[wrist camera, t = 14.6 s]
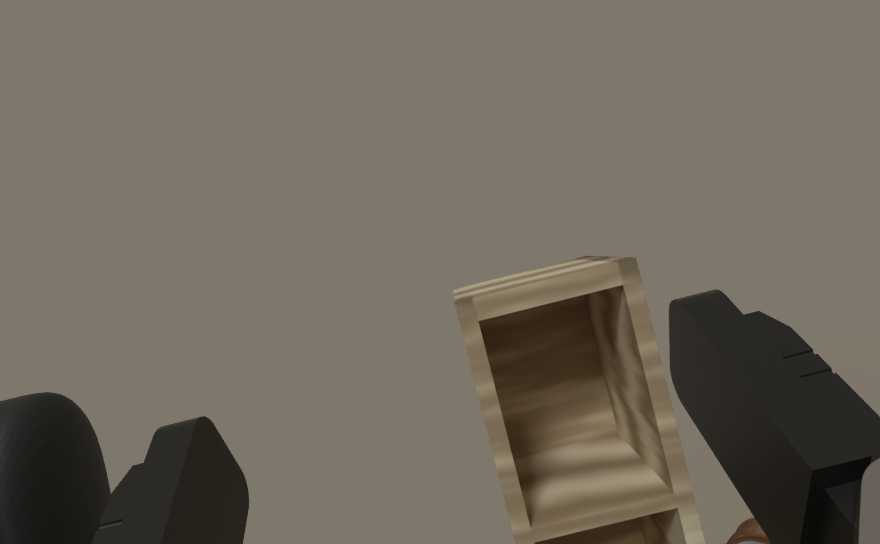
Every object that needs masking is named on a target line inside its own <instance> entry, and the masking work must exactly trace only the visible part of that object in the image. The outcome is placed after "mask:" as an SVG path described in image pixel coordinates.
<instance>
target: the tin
mask: <svg viewBox="0 0 880 544" xmlns="http://www.w3.org/2000/svg"><path fill="white" fill-rule="evenodd" d="M727 544H771V542H770V541H769V539H768V538H767V536H766V535H765V533H764V531H763V530H762V528H761V527H760V525H759V524H758V522H757V520H756V519H755V518H750V519H748V520H746V521H744V522H743V523H742V524H741V525H740V526H739V527H738V529H737V530H736V532H735V533H734V534H733V535H732V536H731V538H730V539H729V540H728V542H727Z"/></svg>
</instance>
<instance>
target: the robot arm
mask: <svg viewBox="0 0 880 544" xmlns="http://www.w3.org/2000/svg"><path fill="white" fill-rule="evenodd" d="M669 335H670V336H669V340H670V371H671V377H672V381H673V384H674V387H675V390H676V392H677V395H678V397H679V399H680V401H681V403H682V404H683V406H684V407H685V409H686V411H687V412H688V414H689V415H690V417H691V419H692V420H693V422H694V423H695V425H696V426H697V428H698V429H699V431H700V432H701V434H702V436H703V437H704V439H705V440H706V442H707V444H708V445H709V447H710V448H711V450H712V451H713V453H714V455H715V456H716V458H717V459H718V461H719V462H720V464H721V466H722V467H723V469H724V470H725V472H726V473H727V475H728V477H729V478H730V480H731V481H732V483H733V484H734V486H735V488H736V489H737V491H738V492H739V494H740V495H741V497H742V498H743V500H744V502H745V503H746V505H747V506H748V508H749V509H750V511H751V513H752V514H753V516H754V517H755V519H756V520H757V522H758V524H759V525H760V527H761V528H762V530H763V531H764V533H765V535H766V536H767V538H768V539H769V541H770V542H771V544H880V417H879V416H878V415H877V414H876V413H875V412H874V411H873V410H872V409H871V408H870V407H869V405H868V404H866V402H864V400H863V399H862V398H861V397H859V396H858V395H857V394H856V392H855V391H854V390H853V389H852V388H851V387H850V386H848V384H847V383H846V382H845V381H844V380H843V379H842V378H841V377H840V376H839V375H838V374H837V373H835V374H833V372H832V370H831V367H830V366H829V365H828V364H827V363H826V362H825V361H824V360H823V359H822V358H821V357H820V356H819V355H818V354H814V353H813V349H812V348H811V347H810V346H809V345H808V344H807V343H806V342H805V341H804V340H803V339H802V338H801V337H800V336H799V335H798V334H797V333H796V332H795V331H794V330H793V329H792V328H791V327H789V326H787V325H785V324H783V323H781V322H780V321H777V320H776V319H774V318H772V317H769V316H768V315H766V314H764V313H762V312H760V311H757V312H753V313H750V314H745V315H743V314H742V313H741V312H740V310H739V309H738V308H737V307H736V306H735V305H734V304H733V303H732V302H731V301H730V300H729V298H728V297H727V296H726V295H725V294H724V293H723V292H721V291H720V290H712V291H707V292H704V293H699V294H695V295H691V296H687V297H684V298H679V299H675V300H673V301H672V302H671V303H670V306H669ZM248 508H249V496H248V488H247V483H246V480H245V477H244V474H243V472H242V470H241V469H240V467H239V465H238V464H237V462H236V461H235V459H234V457H233V455H232V454H231V452H230V450H229V449H228V447H227V445H226V444H225V442H224V440H223V439H222V437H221V436H220V434H219V432H218V431H217V429H216V427H215V426H214V424H213V423H212V421H211V420H210V419H209V418H207V417H205V416H204V417H198V418H195V419H190V420H186V421H182V422H179V423H174V424H170V425H167V426H163V427H160V428H159V429H157V431H156V432H155V434H154V436H153V438H152V441H151V444H150V447H149V450H148V452H147V455H146V458H145V461H144V463H142V464H138V465H134V466H132V468H131V469H130V470H129V472H128V473H127V474H126V475H125V477H124V478H123V479H122V481H121V482H120V483H119V485H118V486H117V487H116V489H115V490H114V491H113V492H112V494H111V493H110V487H109V483H108V477H107V472H106V468H105V464H104V460H103V455H102V451H101V448H100V445H99V442H98V439H97V436H96V434H95V431H94V430H93V427H92V425H91V423H90V421H89V420H88V418H87V417H86V415H85V414H84V412H83V411H82V410H81V408H79V407H78V405H76V404H75V403H74V402H73V401H72V400H70V399H69V398H67V397H65V396H63V395H61V394H56V393H48V392H45V393H36V394H30V395H25V396H21V397H17V398H13V399H8V400H4V401H0V544H243V539H244V533H245V527H246V521H247V515H248Z"/></svg>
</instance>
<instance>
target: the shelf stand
mask: <svg viewBox="0 0 880 544" xmlns="http://www.w3.org/2000/svg"><path fill="white" fill-rule="evenodd" d="M453 293H454V301H455V306H456V310H457V314H458V318H459V322H460V326H461V330H462V334H463V338H464V341H465V346H466V350H467V353H468V357H469V361H470V365H471V369H472V373H473V377H474V381H475V385H476V388H477V393H478V397H479V401H480V405H481V409H482V413H483V416H484V421H485V424H486V428H487V432H488V436H489V440H490V444H491V448H492V452H493V456H494V459H495V464H496V468H497V472H498V476H499V480H500V484H501V487H502V492H503V495H504V499H505V503H506V507H507V511H508V515H509V519H510V523H511V527H512V531H513V535H514V539H515V543H516V544H706V543H705V539H704V535H703V531H702V527H701V523H700V519H699V515H698V511H697V507H696V502H695V498H694V494H693V490H692V486H691V482H690V478H689V474H688V470H687V466H686V461H685V457H684V453H683V449H682V445H681V441H680V437H679V433H678V429H677V425H676V420H675V416H674V412H673V408H672V404H671V400H670V396H669V392H668V388H667V384H666V379H665V375H664V371H663V367H662V364H661V359H660V355H659V351H658V347H657V343H656V339H655V334H654V330H653V326H652V322H651V318H650V314H649V310H648V306H647V302H646V297H645V293H644V289H643V286H642V281H641V277H640V273H639V269H638V265H637V261H636V258H631V257H602V256H585V257H581V258H577V259H573V260H569V261H565V262H561V263H557V264H553V265H549V266H545V267H541V268H537V269H533V270H529V271H525V272H521V273H517V274H514V275H510V276H505V277H502V278H497V279H494V280H489V281H485V282H482V283H478V284H474V285H470V286H466V287H462V288H458V289H454V290H453Z"/></svg>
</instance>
